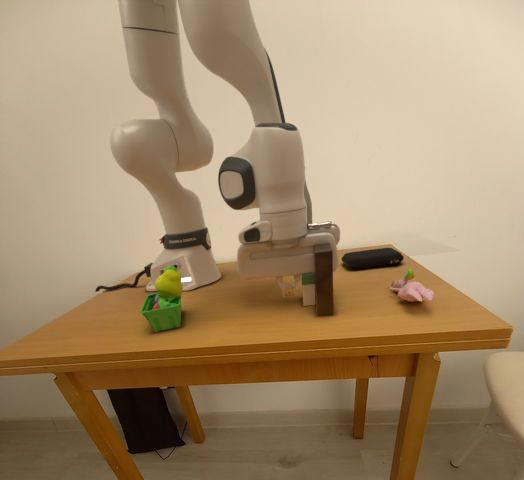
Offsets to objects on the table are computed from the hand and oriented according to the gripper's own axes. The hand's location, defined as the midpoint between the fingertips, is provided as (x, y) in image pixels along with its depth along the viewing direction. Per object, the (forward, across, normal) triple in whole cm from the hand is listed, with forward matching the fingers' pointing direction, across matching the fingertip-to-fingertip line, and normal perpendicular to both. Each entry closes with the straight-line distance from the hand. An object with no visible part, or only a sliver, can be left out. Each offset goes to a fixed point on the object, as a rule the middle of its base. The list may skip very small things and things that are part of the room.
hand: (289, 295), depth 63 cm
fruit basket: (+2, +26, +5) cm, 26 cm away
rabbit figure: (+2, -23, +4) cm, 24 cm away
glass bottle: (+2, -1, -36) cm, 36 cm away
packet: (+1, -6, 0) cm, 6 cm away
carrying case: (+2, -21, -23) cm, 31 cm away
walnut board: (+2, -7, 0) cm, 7 cm away
